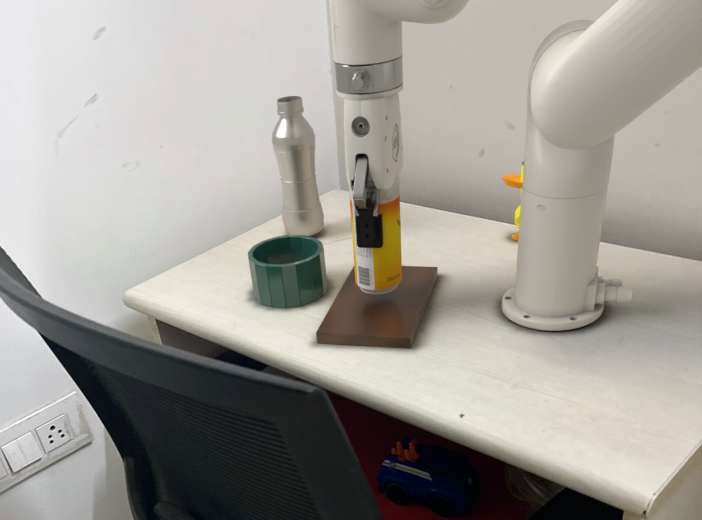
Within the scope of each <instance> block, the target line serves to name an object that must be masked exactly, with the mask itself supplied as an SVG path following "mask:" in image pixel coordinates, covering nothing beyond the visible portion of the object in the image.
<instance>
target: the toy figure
mask: <svg viewBox="0 0 702 520" xmlns="http://www.w3.org/2000/svg"><path fill="white" fill-rule="evenodd" d="M523 171H524V160H523V161H521V169H520V174H508V175H504V176H502V177H501V179H502V181H503V182H504V184H505V186H507V187H510V188H514V189H515V188H516V189H519V190H520V197H521V196H522V183H523ZM520 210H521V203H520V204H519V205H518V206H517V208H516V210H515V211H514V224H515V226H516V228H517V229H518V230H519V224H520ZM518 238H519V231H517V232H516V233H514V234H512V235H511V239H512V240H514V241H518Z"/></svg>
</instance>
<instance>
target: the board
mask: <svg viewBox="0 0 702 520" xmlns="http://www.w3.org/2000/svg"><path fill="white" fill-rule="evenodd" d="M438 271H439V269H438V266H424V265H423V266H421V265H419V266H418V265H402V281H401V282H400V283H399V284H398V287H397V288H396V289H395V290H393V291H391V292H388V293H384V294H369V293H366V292H363V291H362V290H361V289H360V287H359V286H358V285H357V284H356V282H355V268H354V266H353V267H352V269H351V270H350V272H349V274H348V276H347V278H346V279H345V281H344V283H343V284H342V286H341V288H340V289H339V291H338V293H337V295H336V297H335V298H334V300H333V302H332V304H331V306H330V307H329V309H328V311H327V313H326V314H325V315H324V318H323V319H322V322H321V323H320V325H319V326H318V329H317V330H316V332H315V334H316V343H317V344H329V345H344V346H345V345H346V346H347V345H348V346H364V347H379V348H397V349H399V348H400V349H411V348H412V345H413V342H414V340H415V337H416V335H417V331H418V330H419V327H420V324H421V322H422V319H423V316H424V313H425V310H426V308H427V306H428V303H429V300H430V298H431V295H432V293H433V290H434V287H435V285H436V282H437V280H438Z"/></svg>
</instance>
